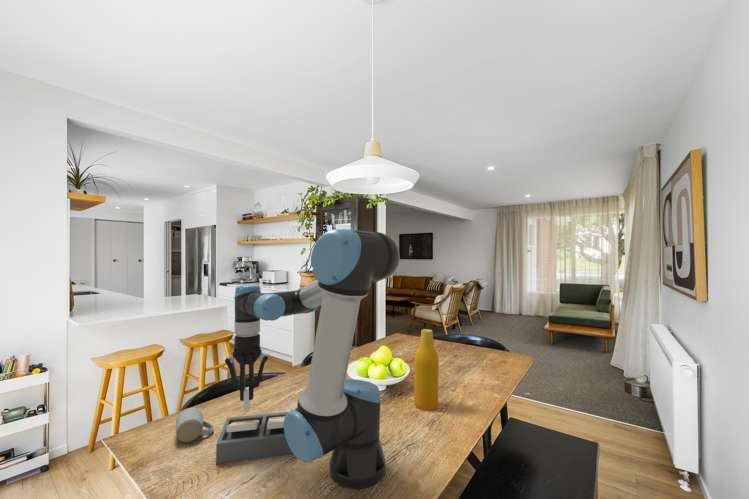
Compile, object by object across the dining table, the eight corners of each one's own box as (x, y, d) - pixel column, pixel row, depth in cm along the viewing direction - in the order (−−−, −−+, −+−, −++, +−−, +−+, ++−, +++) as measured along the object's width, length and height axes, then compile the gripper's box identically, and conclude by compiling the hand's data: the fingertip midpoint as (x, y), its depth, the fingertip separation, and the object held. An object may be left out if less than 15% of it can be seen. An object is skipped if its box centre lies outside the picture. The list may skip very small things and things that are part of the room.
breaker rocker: (257, 429, 96) (257, 422, 97) (224, 432, 94) (225, 425, 95) (260, 425, 105) (260, 419, 106) (230, 428, 103) (231, 422, 104)
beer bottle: (442, 405, 129) (443, 330, 129) (429, 413, 122) (430, 334, 122) (423, 398, 135) (423, 326, 136) (409, 405, 128) (410, 330, 129)
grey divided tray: (301, 453, 97) (302, 424, 97) (216, 464, 91) (216, 433, 91) (300, 427, 111) (301, 402, 111) (226, 435, 106) (227, 408, 106)
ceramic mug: (175, 447, 99) (176, 421, 99) (175, 434, 106) (176, 409, 106) (214, 438, 104) (215, 413, 104) (212, 426, 111) (213, 403, 111)
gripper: (269, 330, 109) (269, 403, 109) (227, 332, 106) (226, 407, 106) (268, 335, 102) (267, 413, 101) (222, 338, 99) (221, 418, 98)
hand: (246, 410), depth 104 cm, fingers closed
